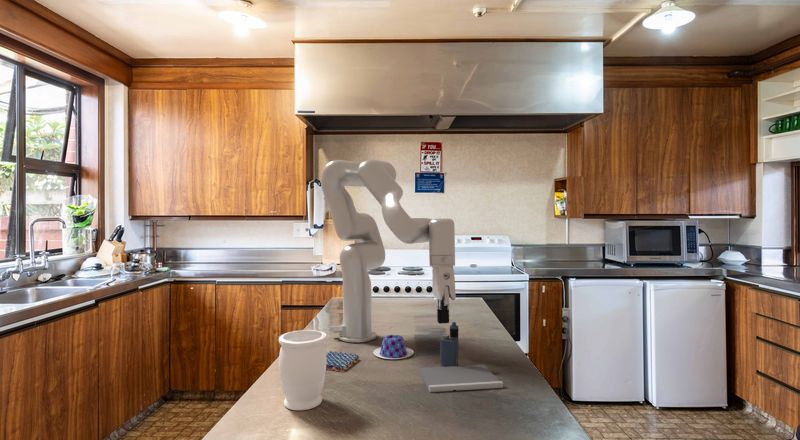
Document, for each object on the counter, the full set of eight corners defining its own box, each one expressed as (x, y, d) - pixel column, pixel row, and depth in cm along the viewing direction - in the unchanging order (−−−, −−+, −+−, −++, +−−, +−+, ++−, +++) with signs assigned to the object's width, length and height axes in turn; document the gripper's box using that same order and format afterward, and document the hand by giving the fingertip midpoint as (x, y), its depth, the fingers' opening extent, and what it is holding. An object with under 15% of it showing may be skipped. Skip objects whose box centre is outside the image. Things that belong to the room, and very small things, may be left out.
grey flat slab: (429, 392, 103) (429, 387, 103) (418, 370, 117) (418, 365, 117) (503, 387, 105) (503, 382, 105) (483, 366, 119) (484, 362, 119)
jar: (283, 393, 102) (283, 329, 102) (328, 391, 103) (328, 328, 103) (274, 414, 92) (274, 343, 91) (324, 412, 92) (324, 342, 92)
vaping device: (456, 368, 118) (456, 324, 118) (438, 365, 121) (438, 321, 120) (460, 365, 120) (460, 322, 120) (442, 362, 123) (442, 319, 123)
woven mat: (309, 369, 119) (309, 362, 119) (329, 357, 129) (328, 350, 129) (343, 374, 115) (343, 366, 115) (361, 361, 125) (361, 354, 125)
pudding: (374, 348, 136) (374, 331, 136) (413, 348, 136) (413, 331, 136) (371, 361, 124) (371, 343, 124) (413, 361, 124) (413, 343, 124)
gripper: (461, 262, 122) (462, 328, 122) (448, 257, 136) (449, 316, 137) (435, 263, 121) (436, 330, 121) (424, 258, 135) (425, 317, 136)
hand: (443, 322), depth 129 cm, fingers closed
